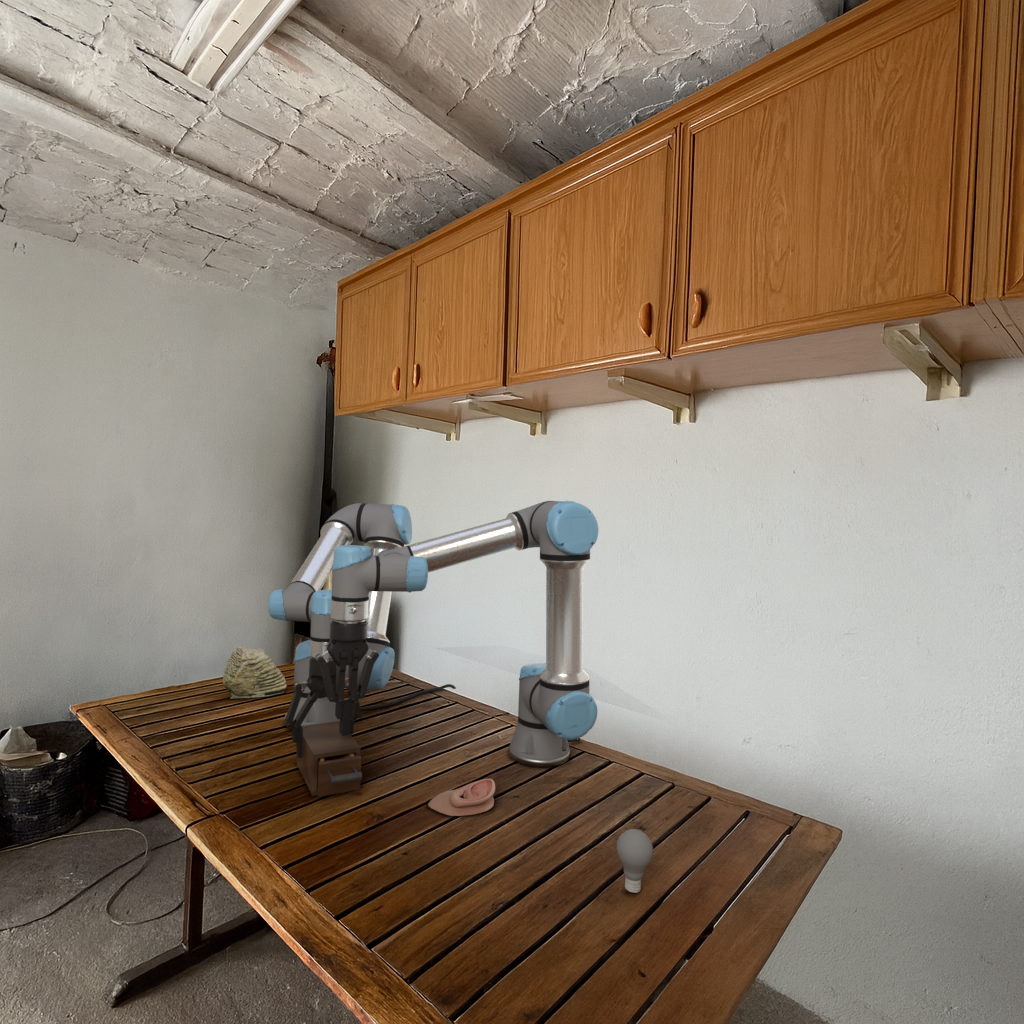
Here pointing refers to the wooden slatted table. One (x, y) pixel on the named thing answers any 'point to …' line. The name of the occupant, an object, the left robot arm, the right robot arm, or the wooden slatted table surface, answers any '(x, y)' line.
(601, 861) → the wooden slatted table surface
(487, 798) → the anatomical model
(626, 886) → the light bulb
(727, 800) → the wooden slatted table surface
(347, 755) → the drawer
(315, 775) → the cabinet
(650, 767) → the wooden slatted table surface
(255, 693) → the fossil
